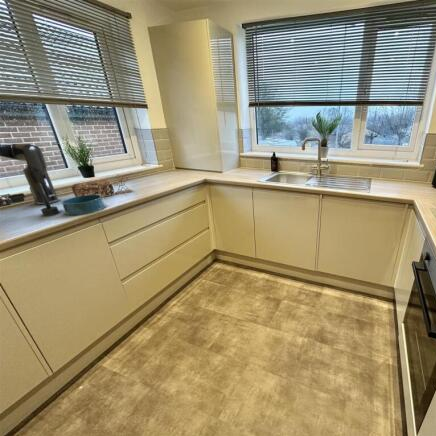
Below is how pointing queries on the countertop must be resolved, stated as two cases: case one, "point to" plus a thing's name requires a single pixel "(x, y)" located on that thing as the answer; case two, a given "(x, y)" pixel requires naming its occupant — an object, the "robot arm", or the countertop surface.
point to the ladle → (47, 203)
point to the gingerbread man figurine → (121, 185)
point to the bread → (93, 188)
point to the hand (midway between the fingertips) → (24, 196)
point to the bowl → (83, 204)
